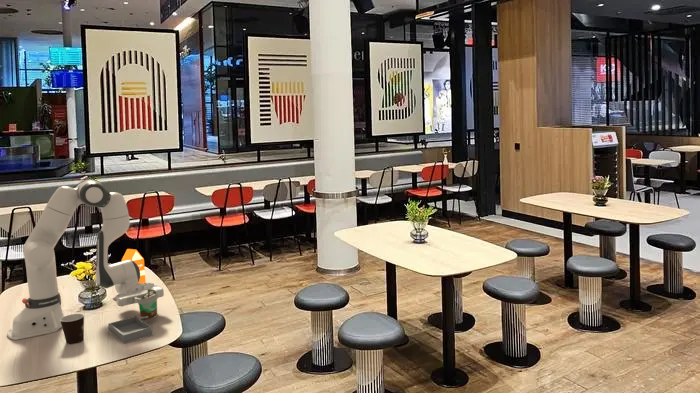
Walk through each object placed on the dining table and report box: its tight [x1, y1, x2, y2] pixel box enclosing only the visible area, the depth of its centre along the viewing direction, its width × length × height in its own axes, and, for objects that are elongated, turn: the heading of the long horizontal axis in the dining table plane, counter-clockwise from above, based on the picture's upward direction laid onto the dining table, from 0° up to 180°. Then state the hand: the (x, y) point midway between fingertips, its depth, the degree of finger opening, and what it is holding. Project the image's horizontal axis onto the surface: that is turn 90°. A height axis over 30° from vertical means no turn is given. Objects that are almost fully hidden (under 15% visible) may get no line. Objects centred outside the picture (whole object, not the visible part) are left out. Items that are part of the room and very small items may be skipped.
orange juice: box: [120, 248, 147, 283], centre depth 293 cm, size 8×9×20 cm
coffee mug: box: [60, 313, 85, 345], centre depth 226 cm, size 12×9×10 cm
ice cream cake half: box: [137, 289, 159, 321], centre depth 241 cm, size 12×6×10 cm, turn 179°
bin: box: [107, 315, 153, 345], centre depth 231 cm, size 12×18×4 cm, turn 41°
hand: (146, 300), depth 241 cm, fingers open, 3 cm apart
